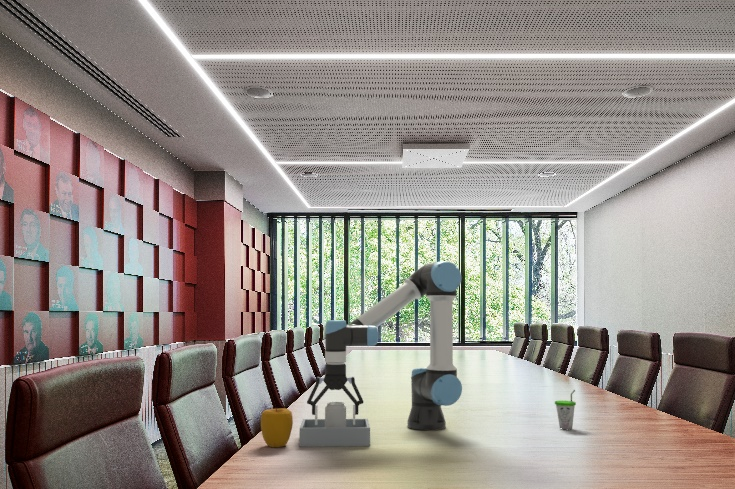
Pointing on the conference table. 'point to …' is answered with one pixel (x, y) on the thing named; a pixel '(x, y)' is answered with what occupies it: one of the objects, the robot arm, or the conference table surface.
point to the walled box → (334, 433)
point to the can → (335, 415)
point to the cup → (565, 413)
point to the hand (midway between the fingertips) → (335, 424)
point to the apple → (276, 426)
